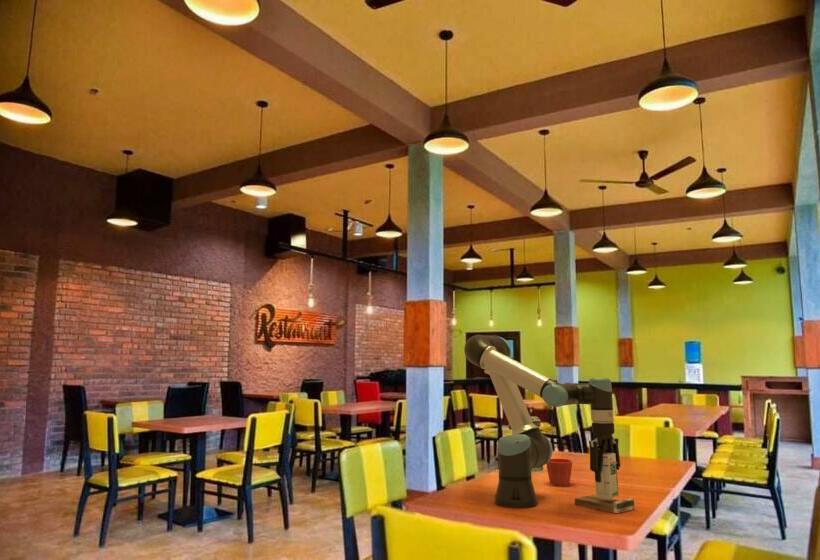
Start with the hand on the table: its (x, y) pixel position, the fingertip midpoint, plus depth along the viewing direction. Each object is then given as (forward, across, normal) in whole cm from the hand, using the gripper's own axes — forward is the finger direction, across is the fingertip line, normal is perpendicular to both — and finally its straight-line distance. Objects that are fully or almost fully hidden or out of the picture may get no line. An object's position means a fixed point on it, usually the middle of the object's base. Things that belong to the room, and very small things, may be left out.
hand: (606, 490), depth 202 cm
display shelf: (+6, 0, +2) cm, 6 cm away
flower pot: (+6, +19, +37) cm, 42 cm away
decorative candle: (+6, +33, +64) cm, 72 cm away
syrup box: (+2, 0, 0) cm, 2 cm away
